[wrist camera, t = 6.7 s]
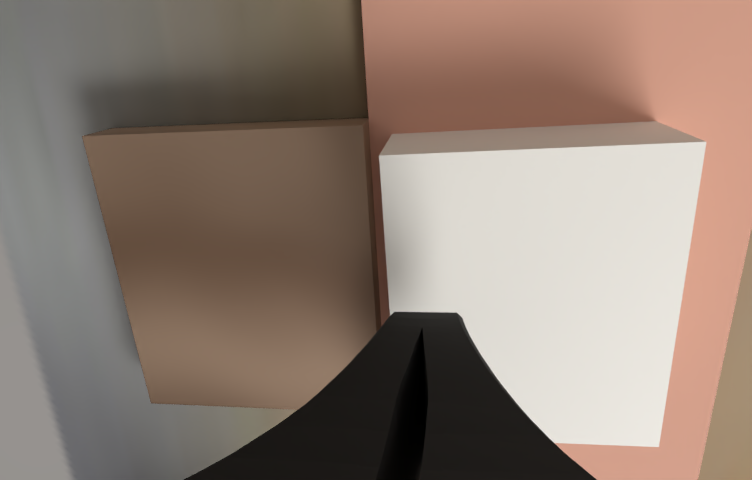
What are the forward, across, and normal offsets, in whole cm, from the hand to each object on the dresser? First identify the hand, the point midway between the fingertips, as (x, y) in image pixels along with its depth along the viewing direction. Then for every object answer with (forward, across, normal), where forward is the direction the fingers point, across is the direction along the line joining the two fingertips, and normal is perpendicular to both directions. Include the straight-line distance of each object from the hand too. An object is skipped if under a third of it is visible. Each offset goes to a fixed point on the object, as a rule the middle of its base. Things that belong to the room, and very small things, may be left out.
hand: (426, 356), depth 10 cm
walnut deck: (+4, +5, 0) cm, 7 cm away
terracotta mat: (+4, -3, 0) cm, 5 cm away
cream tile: (+4, -2, 0) cm, 4 cm away
